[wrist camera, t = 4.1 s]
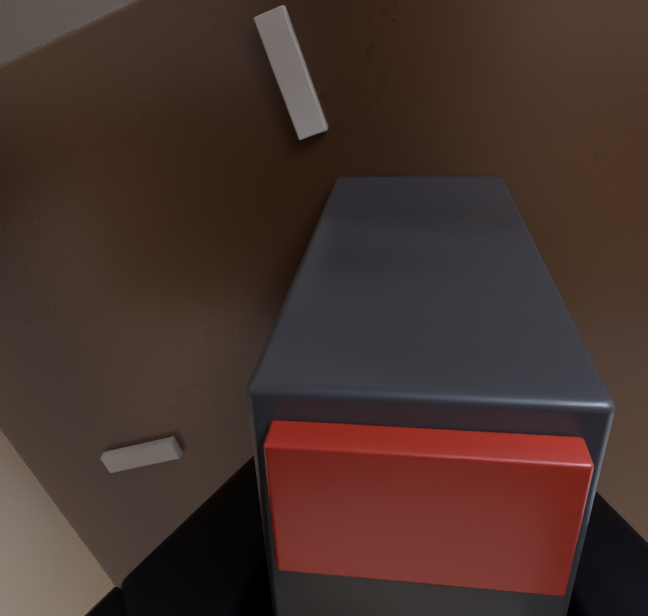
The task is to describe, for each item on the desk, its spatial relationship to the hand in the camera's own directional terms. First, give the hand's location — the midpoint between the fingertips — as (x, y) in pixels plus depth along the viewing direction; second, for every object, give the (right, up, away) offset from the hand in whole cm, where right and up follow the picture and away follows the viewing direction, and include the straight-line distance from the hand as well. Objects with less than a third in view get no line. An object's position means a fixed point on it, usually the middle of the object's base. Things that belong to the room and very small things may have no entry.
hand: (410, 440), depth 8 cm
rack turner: (0, 0, +1) cm, 1 cm away
